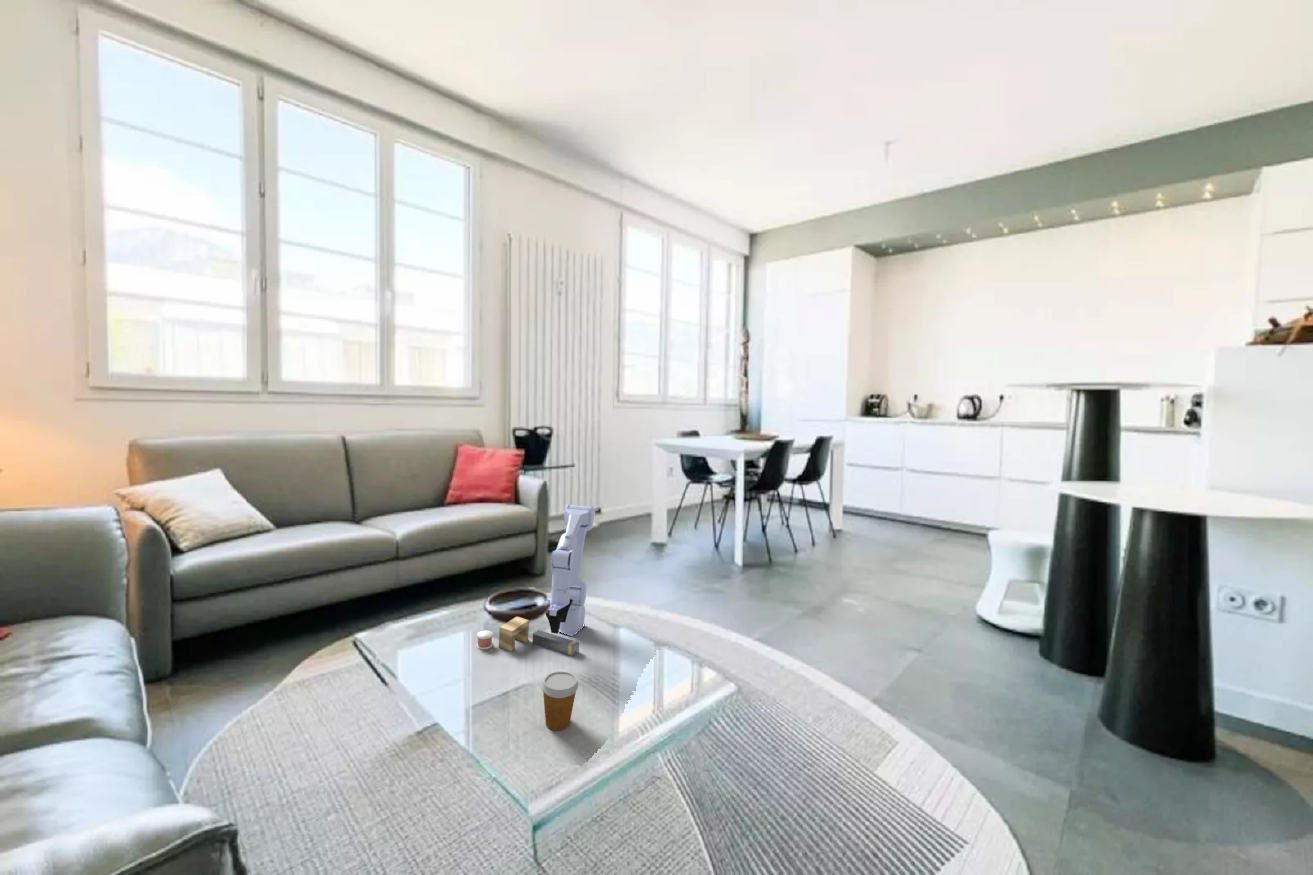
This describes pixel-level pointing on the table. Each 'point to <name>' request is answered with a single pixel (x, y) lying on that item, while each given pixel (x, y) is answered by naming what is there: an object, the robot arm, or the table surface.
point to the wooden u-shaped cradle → (513, 633)
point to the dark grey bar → (556, 643)
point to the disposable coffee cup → (559, 698)
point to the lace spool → (484, 639)
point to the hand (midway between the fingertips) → (558, 627)
